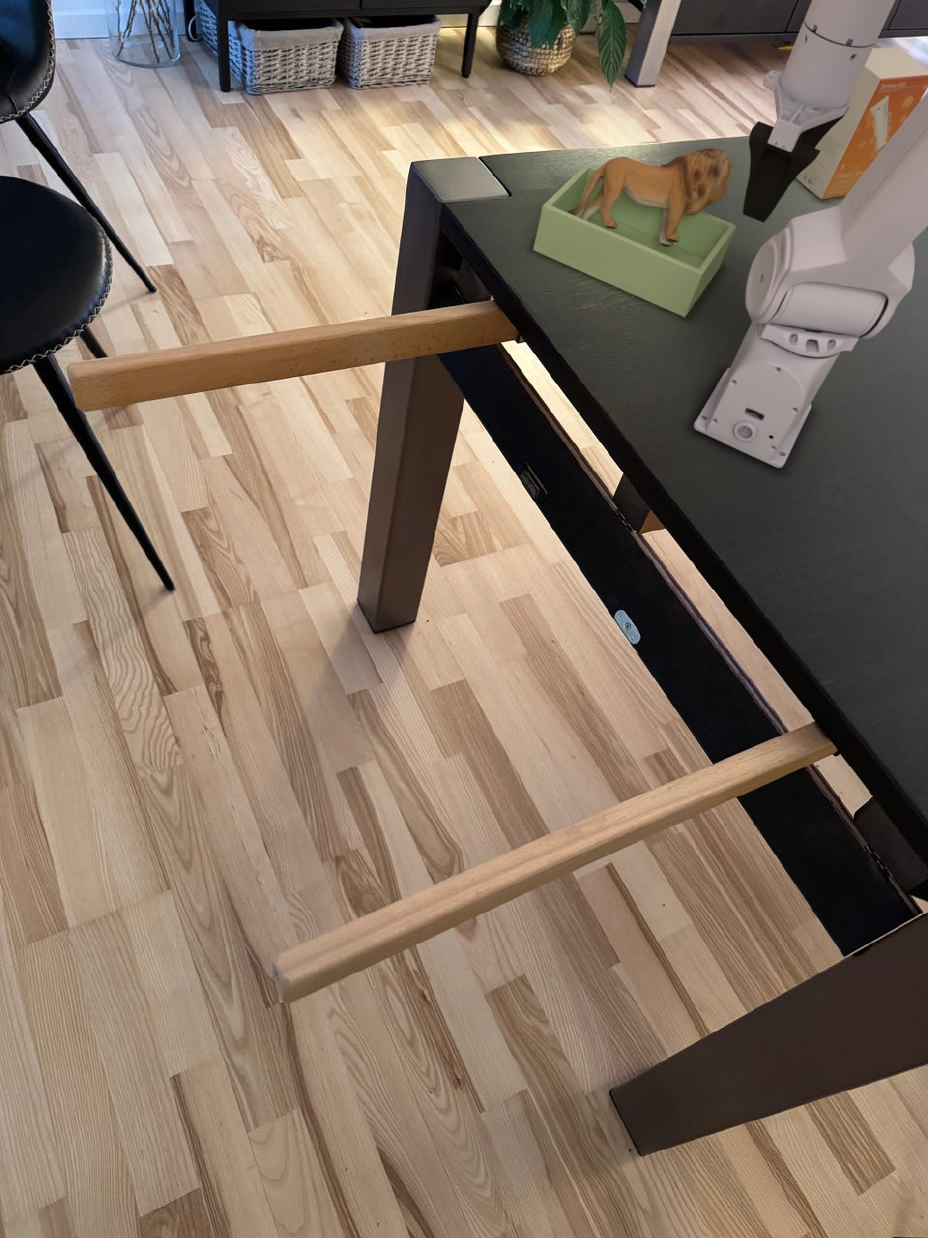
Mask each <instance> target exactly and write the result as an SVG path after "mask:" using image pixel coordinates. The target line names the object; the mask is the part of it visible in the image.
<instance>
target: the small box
mask: <svg viewBox="0 0 928 1238" xmlns="http://www.w3.org/2000/svg"><path fill="white" fill-rule="evenodd" d="M927 89H928V67H926V66H924V65H923V64H922V63H921V62H920V61H918V60H917V59H915V58H914V57H912V56H911V55H910V54H909V53H907V52H905V51H904V50H903V49H901V48H900V47H899V46H887V47H873V49H872V51H871V53H870V55H869V58H868V60H867V62H866V64H865V66H864V68H863V71H862V73H861V75H860V77H859V79H858V81H857V83H856V85H855V88H854V90H853V92H852V94H851V96H850V104H849V108H848V110H847V112H846V114H845V115H844V117H843V118H842V119H841V120H840V121H838V122H837V123H836V124H835V125H834V126H833V127H832V128H831V129H830V130H829V131H828V132H827V133H826V134H825V135H824V137H823V138H822V139H821V140H820V142H819V143H818V144H817V146H816V147H815V149H818V150H820V153H819V154H818V156H817V157H816V159H815V160H814V161H813V162H812V163H811V164H810V165H809V166H808V167H807V168H805V169H804V170H803V171H802V172H801V173H800V174H799V175H798V176H797V177H796V178H795V179H796V180H797V181H799V182H800V183H801V184H802V185H803V186H805V188H807V189H808V190H809V191H810V192H811V193H813V195H815V196H816V197H817V198H819V200H826V199H831V198H839V197H845V196H846V195H847V194H848V193H849V191H850V190H851V189H852V188H853V186H854V185H855V184H856V182H857V181H858V180H859V179H860V177H861V176H862V175H863V174H864V172H865V171H866V170H867V168H868V167H869V166H870V165H871V163H872V162H873V161H874V160H875V158H876V157H877V156H878V154H879V153H880V152H881V151H882V149H883V148H884V147H885V145H886V144H887V143H888V142H889V140H890V139H891V138H892V137H893V135H894V134H895V133H896V131H897V130H898V129H899V128H900V126H901V125H902V124H903V123H904V121H905V120H906V119H907V117H908V116H909V115H910V114H911V112H912V111H913V110H914V108H915V107H916V106H917V105H918V103H919V102H920V101H921V100H922V98H923V97H924V96H925V94H926V91H927Z"/></svg>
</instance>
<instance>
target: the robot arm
mask: <svg viewBox="0 0 928 1238" xmlns="http://www.w3.org/2000/svg"><path fill="white" fill-rule="evenodd" d="M895 2H896V0H811V2H810V4H809V7H808V10H807V12H806V14H805V16H804V19H803V22H802V24H801V26H800V29H799V32H798V34H797V37H796V39H795V41H794V44H793V46H792V49H791V52H790V53H789V56H788V58H787V61H786V64H785V66H784V69H783V72H780V71H778V70H774V69H773V70H770V71H768V73H767V74H766V75H765V77H764V80H763V82H762V85H763V86H764V87H765V88H767V89H769V90H771V91H772V92H773V96H774V97H773V98H774V105H775V106H774V107H775V113H776V120H775V123H774V125H770V124H768V123H765V122H762V121H760V120H758V121H757V122H756V123H755V124H754V126H753V127H752V129H751V131H750V133H749V138H748V147H749V154H750V157H749V158H750V161H749V162H750V165H749V166H750V167H749V175H748V181H747V186H746V191H745V194H744V200H743V208H742V215H744V216H746V217H749V218H751V219H753V220H755V221H758V222H761V223H765V222H766V221H767V220H768V218H769V217H770V216H771V215H772V213H773V212H774V210H775V209H776V208H777V206H778V204H779V203H780V201H781V199H782V198H783V196H784V195H785V193H786V191H787V190H788V189H789V187H790V186H791V184H792V183H793V182H794V181H795V179H797V178H796V177H797V176H798V175H799V174H800V173H801V172H802V171H803V170H804V169H805V168H807V167H808V166H809V165H810V164H811V163H812V162H813V161H814V160H815V159H816V157H817V156H818V154H819V153H820V150H818V149H815V147H816V146H817V144H818V143H819V142H820V140H821V139H822V138H823V137H824V135H825V134H826V133H827V132H828V131H829V130H830V129H831V128H832V127H833V126H834V125H835V124H836V123H837V122H838V121H840V120H841V119H842V118H843V117H844V115H845V114H846V112H847V110H848V108H849V104H850V96H851V94H852V92H853V90H854V88H855V85H856V83H857V81H858V79H859V77H860V75H861V73H862V71H863V68H864V66H865V64H866V62H867V60H868V58H869V55H870V53H871V51H872V49H873V48H875V44H876V42H877V40H878V38H879V36H880V34H881V32H882V29H883V28H884V26H885V24H886V22H887V19H888V17H889V15H890V12H891V10H892V9H893V7H894V5H895ZM927 227H928V91H927V92H925V93H924V95H923V97H922V99H921V101H920V102H919V103H918V105H917V106H916V107H915V108H914V110H913V111H912V112H911V114H910V115H909V116H908V117H907V119H906V120H905V121H904V123H903V124H902V125H901V126H900V128H899V129H898V130H897V131H896V133H895V134H894V135H893V137H892V138H891V139H890V140H889V142H888V143H887V144H886V145H885V147H884V148H883V149H882V151H881V152H880V153H879V154H878V156H877V157H876V158H875V160H874V161H873V162H872V163H871V165H870V166H869V167H868V168H867V170H866V171H865V172H864V174H863V175H862V176H861V177H860V179H859V180H858V181H857V182H856V184H855V185H854V186H853V188H852V189H851V190H850V191H849V193H848V194H847V195H845V196H844V198H843V199H842V200H841V201H840V203H839V204H837V205H834V206H831V207H827V208H823V209H820V210H816V211H812V212H808V213H805V214H801V215H799V216H795V217H793V218H791V219H790V220H789V221H788V222H787V224H786V226H785V227H784V228H783V229H782V230H781V231H780V232H779V233H776V234H774V235H772V236H771V237H770V238H769V239H767V241H765V242H764V243H763V244H762V245H761V246H760V248H759V249H758V251H757V253H756V254H755V256H754V258H753V261H752V264H751V267H750V270H749V273H748V277H747V281H746V287H745V295H744V296H745V297H744V298H745V299H744V301H745V302H744V303H745V308H746V312H747V313H748V316H749V319H750V320H751V323H750V325H749V327H748V328H747V329H748V330H747V331H746V334H745V336H744V337H743V339H742V342H741V344H740V346H739V348H738V350H737V353H736V355H735V357H734V359H733V361H732V363H731V365H730V367H728V368H726V369H725V372H724V373H723V375H722V377H721V378H720V380H719V381H718V383H717V385H716V387H714V390H713V391H712V393H711V394H710V396H709V398H708V399H707V401H706V403H705V405H704V406H703V408H702V409H701V411H700V413H699V415H698V417H697V418H696V419H695V421H694V423H693V428H694V430H695V431H697V432H699V433H701V434H703V435H706V436H708V437H709V438H712V439H715V440H716V441H718V442H721V443H723V444H725V445H727V446H729V447H731V448H733V449H735V450H738V451H740V452H742V453H744V454H745V455H748V456H751V457H753V458H755V459H757V460H759V461H761V462H763V463H766V464H768V465H770V466H772V467H774V468H777V469H781V468H783V467H784V465H785V463H786V461H787V459H788V457H789V456H790V453H791V450H792V449H793V447H794V444H795V442H796V441H797V438H798V436H799V434H800V433H801V430H802V428H803V427H804V424H805V421H806V419H807V417H808V415H809V413H810V412H811V410H812V402H813V400H814V398H815V397H816V395H817V393H818V392H819V390H820V388H821V386H822V385H823V383H824V381H825V380H826V379H827V376H828V374H829V373H830V371H831V370H832V368H833V367H834V365H835V363H836V361H837V360H838V358H839V356H840V355H841V353H842V352H852V351H853V349H854V348H855V346H856V344H857V343H858V341H859V339H860V340H863V341H864V340H869V339H872V338H874V337H875V336H877V335H878V334H879V333H880V332H881V331H882V330H883V329H884V328H885V327H886V326H887V325H888V324H889V322H890V320H891V319H892V317H893V316H894V314H895V312H896V310H897V308H898V305H899V304H900V303H901V301H902V299H903V298H904V297H905V296H906V295H907V294H908V293H909V292H911V290H912V287H913V281H914V277H915V261H916V259H915V249H914V245H913V242H914V240H916V238H918V236H920V234H921V233H922V232H924V230H925V229H926V228H927Z"/></svg>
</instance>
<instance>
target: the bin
mask: <svg viewBox="0 0 928 1238" xmlns="http://www.w3.org/2000/svg"><path fill="white" fill-rule="evenodd" d="M599 168H600V167H598V166H594V165H593V164H590V163H588V162H586V163H585V164H584V165H583V166H581V168H580V169H579V170H578V171H577V172H576V173H574V174H573V176H571V177H570V178H569V180H568V181H566V182H565V183H564V184H563V185H562V186H561V187H560V188H559V189H558V190H557V191H556V192H554V194H553V195H552V196H551V197H549V199H548V200H547V201H546V202H545V203H544V204H543V205H542V208H541V213H540V217H539V222H538V225H537V231H536V235H535V240H534V244H533V247H532V251H534V252H536V253H539V254H540V255H543V256H546V257H547V258H550V259H551V260H554V261H556V262H559V263H561V264H563V265H565V266H568V267H570V268H572V269H575V270H577V271H579V272H581V273H584V274H586V275H587V276H590V277H593V278H594V279H597V280H599V281H601V282H604V283H606V284H609V285H611V286H613V287H615V288H618V289H620V290H622V291H624V292H627V293H628V294H631V295H633V296H635V297H638V298H640V299H643V300H645V301H647V302H649V303H651V304H653V305H656V306H658V307H660V308H663V309H665V310H667V311H669V312H672V313H674V314H676V315H678V316H680V317H682V318H686V317H687V315H688V314H689V312H691V310H692V308H693V307H694V305H695V304H696V302H697V301H698V300H699V298H700V297H701V295H702V294H703V293H704V291H705V290H706V288H707V286H708V285H709V284H710V283H711V281H712V279H713V278H714V277H715V275H716V274H717V272H718V271H719V269H720V268H721V266H722V263H723V260H724V259H725V255H726V253H727V251H728V249H729V246H730V244H731V242H732V239H733V237H734V234H735V232H736V229H737V224H734V223H732V222H729V221H727V220H725V219H721V218H719V217H717V216H714V215H712V214H710V213H707V212H705V211H702V210H701V211H699V213H697V214H696V215H682V218H681V220H680V222H679V224H678V226H677V229H676V235H678V236H679V237H680V241H679V242H678V243H676V242H673V246H671V247H666V246H663V245H661V244H660V242H659V234H660V231H661V228H662V224H663V212H662V209H659V208H648V207H643V206H640V205H639V204H637V203H635V202H634V201H632V200H631V199H630V198H629V197H628V196H627V195H626V194H625V193H623V194H622V195H621V196H620V197H619V198H618V199H617V200H616V201H615V202H614V204H613V205H612V207H611V210H610V219H611V220H612V221H615V222H616V223H617V228H616V229H610V228H606V227H605V226H604V224H603V221H602V218H601V215H600V211H598V212H596V213H594V214H593V215H592V216H591V217H590V218H589V222H588V221H586V220H584V219H581V217H582V214H583V212H584V209H585V207H586V205H587V204H588V203H589V202H591V201H593V200H594V199H595V197H596V196H597V195H598V193H599V192H600V190H601V187H602V184H603V178H600V179H599V181H598V183H597V184H596V186H595V188H594V189H593V191H592V193H591V194H590V196H589V198H588V200H587V202H586V203H585V205H584V206H583V208H582V209H581V210H580V212H579V213H578V214H577V215H576V216H574V215H572V214H570V213H567V211H569V210H572V209H575V208H576V207H577V206H578V205H579V203H580V202H581V200H582V198H583V196H584V194H585V192H586V189H587V187H588V185H589V183H590V181H591V179H592V178H593V176H594V175H595V173H596V172H597V170H598V169H599Z"/></svg>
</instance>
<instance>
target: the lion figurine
mask: <svg viewBox="0 0 928 1238" xmlns="http://www.w3.org/2000/svg"><path fill="white" fill-rule="evenodd" d="M732 166H733V160H731V159H730V158H729V155H728V154H727V153H726V152H725V151H724V150H720V149H719V148H714V147H710V148H709V147H708V148H703V149H696V150H695V152H693V153H688V154H681V155H677V156H676V157H674V158H673V159H672V160H670V161H669V162H667V163H665V164H661V165H660V166H657V165H650V164H647V163H643V162H640V161H637V160H635V159H632V158H630V157H627V156H619V157H613V158H611V159H608V160H607V161H606V162H604V163H603V164H602V165H601V166H600V167H598V168H599V169H598V170H597V172H596V173H595V175H594V176H593V178H592V179H591V181H590V183H589V185H588V187H587V189H586V192H585V194H584V196H583V198H582V200H581V202H580V203H579V205H578V206H577V207H576V208H575V209H572V210H569V211H567V213H570V214H572V215H574V216H576V215H577V214H578V213H579V212H580V210H581V209H582V208H583V206H584V205H585V203H586V202H587V200H588V198H589V196H590V194H591V193H592V191H593V189H594V188H595V186H596V184H597V183H598V181H599V179H600V178H603V184H602V187H601V190H600V192H599V193H598V195H597V196H596V197H595V199H594V200H593V201H591V202H589V203H588V204H587V205H586V207H585V209H584V212H583V214H582V217H581V219H584V220H586V221H588V222H589V218H590V217H591V216H592V215H593V214H594V213H596V212H598V211H600V215H601V218H602V221H603V224H604V226H605V227H606V228H610V229H616V228H617V223H616V222H615V221H612V220H611V219H610V210H611V207H612V205H613V204H614V202H615V201H616V200H617V199H618V198H619V197H620V196H621V195H622V194H623V193H625V194H626V195H627V196H628V197H629V198H630V199H631V200H632V201H634V202H635V203H637V204H639V205H640V206H643V207H648V208H659V209H662V212H663V224H662V228H661V231H660V234H659V242H660V244H661V245H663V246H666V247H671V246H673V242H676V243H678V242H679V241H680V237H679V236H678V235H676V229H677V226H678V224H679V222H680V220H681V218H682V215H696V214H697V213H699V211H702V210H703V209H704V208H706V207H707V206H712V205H714V204H716V203H718V202H719V201H721V199H722V198H723V196H724V195H725V193H726V192H727V190H728V187H729V184H730V183H729V182H730V176H731V168H732Z"/></svg>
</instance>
